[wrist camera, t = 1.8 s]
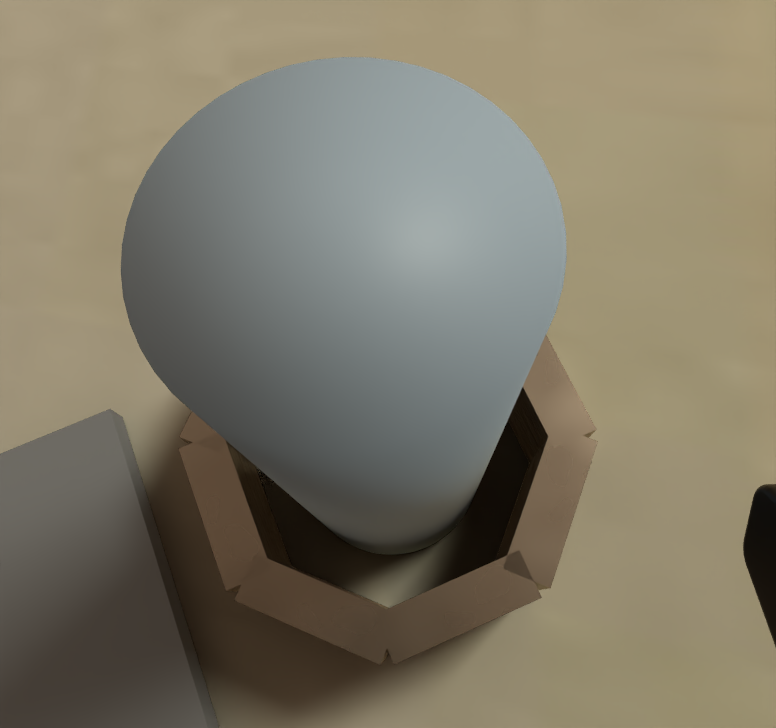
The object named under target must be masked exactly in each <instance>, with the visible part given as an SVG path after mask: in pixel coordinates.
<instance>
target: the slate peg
mask: <svg viewBox="0 0 776 728" xmlns="http://www.w3.org/2000/svg"><path fill="white" fill-rule="evenodd" d="M565 266H566V230H565V224H564V218H563V212H562V206H561V203H560V200H559V197H558V194H557V191H556V188H555V185H554V182H553V180H552V178H551V176H550V174H549V172H548V170H547V168H546V166H545V163H544V161H543V159H542V158H541V156H540V155H539V153H538V152H537V150H536V149H535V147H534V146H533V144H532V143H531V142H530V140H529V139H528V137H527V136H526V135H525V134H524V133H523V132H522V131H521V129H520V128H519V127H518V126H517V125H516V124H515V123H514V122H513V120H512V119H511V118H510V117H508V116H507V115H506V114H505V113H504V112H503V111H501V110H500V109H499V108H498V107H497V106H496V105H494V104H493V103H492V102H491V101H489V100H488V99H486V98H485V97H483V96H482V95H480V94H479V93H477V92H476V91H474V90H473V89H471V88H470V87H468V86H466V85H464V84H462V83H460V82H458V81H456V80H454V79H452V78H450V77H448V76H446V75H443V74H440V73H437V72H435V71H432V70H429V69H426V68H423V67H420V66H416V65H412V64H407V63H403V62H399V61H393V60H385V59H377V58H361V57H341V58H330V59H319V60H313V61H308V62H303V63H298V64H293V65H289V66H286V67H283V68H280V69H277V70H274V71H270V72H267V73H265V74H262V75H260V76H258V77H255V78H253V79H251V80H249V81H246V82H244V83H242V84H240V85H238V86H236V87H235V88H233V89H231V90H229V91H228V92H226V93H224V94H223V95H221V96H219V97H218V98H216V99H215V100H213V101H212V102H211V103H209V104H208V105H207V106H205V107H204V108H203V109H201V110H200V111H198V112H197V113H196V114H195V115H194V116H193V117H192V118H191V119H190V120H189V121H187V122H186V123H185V124H184V125H183V126H182V127H181V128H180V129H179V130H178V131H177V132H176V133H175V134H174V136H173V137H172V138H171V139H170V140H169V141H168V143H167V144H166V145H165V146H164V147H163V148H162V150H161V151H160V152H159V154H158V155H157V157H156V158H155V160H154V162H153V163H152V165H151V166H150V168H149V169H148V171H147V172H146V174H145V176H144V178H143V180H142V182H141V184H140V186H139V188H138V190H137V193H136V195H135V197H134V200H133V203H132V206H131V209H130V212H129V215H128V218H127V222H126V227H125V232H124V238H123V243H122V257H121V278H122V289H123V298H124V302H125V306H126V310H127V314H128V318H129V322H130V325H131V327H132V330H133V332H134V334H135V337H136V339H137V342H138V344H139V346H140V349H141V350H142V352H143V354H144V355H145V357H146V359H147V360H148V362H149V364H150V365H151V367H152V369H153V370H154V372H155V373H156V374H157V375H158V377H159V378H160V379H161V380H162V381H163V383H164V384H165V385H166V386H167V387H168V389H169V390H170V391H171V392H172V393H173V394H174V395H175V396H176V397H177V398H178V399H179V400H180V401H181V402H183V403H184V404H185V405H186V406H187V407H188V408H189V409H190V410H191V411H192V412H194V413H195V414H196V415H197V416H198V417H199V418H201V419H202V420H203V421H204V422H205V423H206V424H208V425H209V426H210V427H211V428H212V429H213V430H215V431H216V432H217V433H218V434H219V435H220V436H222V437H223V438H224V439H225V440H226V441H227V442H229V443H230V444H231V445H232V446H233V447H234V448H235V449H237V450H238V451H239V452H240V453H241V454H242V455H244V456H245V457H246V458H247V459H248V460H249V461H251V462H252V463H253V464H254V465H255V466H256V467H258V468H259V469H260V470H261V471H262V472H263V473H265V474H266V475H267V476H268V477H269V478H270V479H272V480H273V481H274V482H275V483H276V484H277V485H279V486H280V487H281V488H282V489H283V490H284V491H286V492H287V493H288V494H289V495H290V496H291V497H293V498H294V499H295V500H296V501H297V502H298V503H299V504H301V505H302V506H303V507H304V508H305V509H306V510H308V511H309V512H310V513H311V514H312V515H313V516H315V517H316V518H317V519H318V520H319V521H320V522H322V523H323V524H324V525H325V526H326V527H327V528H329V529H330V530H331V531H332V532H333V533H334V534H336V535H337V536H338V537H339V538H341V539H342V540H344V541H345V542H347V543H349V544H351V545H353V546H355V547H357V548H359V549H362V550H365V551H368V552H372V553H377V554H387V555H396V554H406V553H410V552H415V551H418V550H421V549H423V548H426V547H428V546H430V545H432V544H434V543H436V542H438V541H439V540H440V539H442V538H443V537H445V536H446V535H447V534H448V533H449V532H450V531H451V530H453V529H454V528H455V527H456V525H457V524H458V523H459V522H460V521H461V519H462V518H463V516H464V515H465V513H466V512H467V510H468V508H469V506H470V504H471V502H472V499H473V497H474V495H475V493H476V490H477V488H478V486H479V484H480V481H481V479H482V477H483V475H484V472H485V470H486V468H487V466H488V463H489V461H490V459H491V457H492V454H493V452H494V450H495V448H496V445H497V443H498V441H499V439H500V436H501V434H502V432H503V430H504V427H505V425H506V423H507V421H508V418H509V416H510V414H511V412H512V409H513V407H514V405H515V403H516V400H517V398H518V396H519V394H520V391H521V389H522V387H523V385H524V382H525V380H526V378H527V376H528V373H529V371H530V369H531V367H532V364H533V362H534V360H535V358H536V355H537V353H538V351H539V349H540V346H541V344H542V342H543V340H544V337H545V335H546V333H547V331H548V328H549V326H550V324H551V322H552V319H553V317H554V315H555V313H556V309H557V306H558V302H559V298H560V295H561V291H562V288H563V282H564V274H565Z"/></svg>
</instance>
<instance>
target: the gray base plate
mask: <svg viewBox="0 0 776 728" xmlns="http://www.w3.org/2000/svg"><path fill="white" fill-rule="evenodd" d="M0 728H219V725H218V722H217V719H216V715H215V712H214V709H213V706H212V703H211V699H210V696H209V693H208V690H207V687H206V683H205V680H204V677H203V674H202V670H201V667H200V664H199V661H198V658H197V654H196V651H195V648H194V645H193V642H192V638H191V635H190V632H189V629H188V626H187V622H186V619H185V616H184V613H183V610H182V606H181V603H180V600H179V597H178V594H177V590H176V587H175V584H174V581H173V578H172V574H171V571H170V568H169V565H168V561H167V558H166V555H165V552H164V549H163V545H162V542H161V539H160V536H159V533H158V529H157V526H156V523H155V520H154V517H153V513H152V510H151V507H150V504H149V501H148V497H147V494H146V491H145V488H144V485H143V481H142V478H141V475H140V472H139V469H138V465H137V462H136V459H135V456H134V452H133V449H132V446H131V443H130V440H129V436H128V433H127V430H126V427H125V424H124V420H123V417H122V416H120V415H119V414H117V413H116V412H114V411H112V410H111V409H109V410H106V411H104V412H101V413H99V414H97V415H94V416H92V417H89V418H87V419H84V420H82V421H79V422H77V423H75V424H72V425H70V426H67V427H65V428H62V429H60V430H57V431H55V432H52V433H50V434H48V435H45V436H43V437H40V438H38V439H35V440H33V441H30V442H28V443H25V444H23V445H21V446H18V447H16V448H13V449H11V450H8V451H6V452H3V453H1V454H0Z"/></svg>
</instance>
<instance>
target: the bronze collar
mask: <svg viewBox="0 0 776 728" xmlns="http://www.w3.org/2000/svg"><path fill="white" fill-rule="evenodd" d="M508 421H509V423H510V425H511V428H512V430H513V432H514V434H515V436H516V438H517V440H518V442H519V444H520V446H521V448H522V450H523V452H524V454H525V456H526V458H527V460H528V462H529V465H528V468H527V471H526V474H525V477H524V479H523V482H522V485H521V488H520V491H519V494H518V497H517V499H516V502H515V505H514V508H513V511H512V514H511V517H510V520H509V522H508V525H507V528H506V531H505V534H504V537H503V540H502V542H501V545H500V548H499V551H498V554H497V557H496V560H495V561H494V562H491V563H489V564H487V565H485V566H482V567H480V568H478V569H476V570H473V571H471V572H469V573H467V574H464V575H462V576H460V577H458V578H456V579H453V580H451V581H449V582H447V583H444V584H442V585H440V586H438V587H435V588H433V589H431V590H429V591H426V592H424V593H422V594H420V595H417V596H415V597H413V598H411V599H409V600H406V601H404V602H402V603H400V604H397V605H395V606H393V607H391V608H388V607H385V606H383V605H381V604H378V603H376V602H374V601H371V600H369V599H367V598H364V597H362V596H360V595H357V594H355V593H353V592H350V591H348V590H346V589H343V588H341V587H338V586H336V585H334V584H331V583H329V582H327V581H324V580H322V579H320V578H317V577H315V576H313V575H310V574H308V573H306V572H303V571H301V570H299V569H296V568H294V567H292V565H291V562H290V560H289V557H288V554H287V551H286V549H285V546H284V543H283V540H282V538H281V535H280V532H279V530H278V527H277V524H276V521H275V519H274V516H273V513H272V510H271V508H270V505H269V502H268V500H267V497H266V494H265V491H264V489H263V486H262V483H261V480H260V478H259V475H258V472H257V470H256V466H255V465H254V464H253V463H252V462H251V461H249V460H248V459H247V458H246V457H245V456H244V455H242V454H241V453H240V452H239V451H238V450H237V449H235V448H234V447H233V446H232V445H231V444H230V443H229V442H227V441H226V440H225V439H224V438H223V437H222V436H220V435H219V434H218V433H217V432H216V431H215V430H213V429H212V428H211V427H210V426H209V425H208V424H206V423H205V422H204V421H203V420H202V419H201V418H199V417H198V416H197V415H196V414H195V413H194V412H191V414H190V416H189V418H188V420H187V422H186V424H185V426H184V428H183V430H182V432H181V434H180V436H179V437H180V438H181V439H183V440H184V441H186V442H187V443H189V444H188V445H186V446H183V447H181V448H179V452H180V455H181V458H182V461H183V464H184V467H185V470H186V473H187V476H188V479H189V482H190V485H191V488H192V491H193V494H194V497H195V500H196V503H197V506H198V509H199V512H200V515H201V518H202V521H203V524H204V527H205V530H206V533H207V536H208V539H209V542H210V545H211V548H212V551H213V554H214V557H215V560H216V563H217V566H218V569H219V572H220V575H221V578H222V581H223V584H224V587H225V590H226V591H232V592H238V593H237V595H236V597H235V600H234V601H236V602H239V603H241V604H243V605H245V606H248V607H250V608H252V609H254V610H257V611H259V612H261V613H263V614H266V615H268V616H270V617H273V618H275V619H277V620H279V621H282V622H284V623H286V624H288V625H291V626H293V627H295V628H297V629H300V630H302V631H304V632H306V633H309V634H311V635H313V636H316V637H318V638H320V639H322V640H325V641H327V642H329V643H331V644H334V645H336V646H338V647H340V648H343V649H345V650H347V651H350V652H352V653H354V654H356V655H359V656H361V657H363V658H365V659H368V660H370V661H372V662H374V663H377V664H379V665H381V664H382V662H383V661H384V660H385V659H386V657H387V656H388V653H389V654H390V657H391V659H392V662H393V664H397V663H399V662H401V661H403V660H405V659H408V658H410V657H412V656H414V655H416V654H419V653H421V652H423V651H425V650H427V649H430V648H432V647H434V646H436V645H438V644H441V643H443V642H445V641H447V640H449V639H452V638H454V637H456V636H458V635H460V634H463V633H465V632H467V631H469V630H471V629H474V628H476V627H478V626H480V625H482V624H485V623H487V622H489V621H491V620H493V619H496V618H498V617H500V616H502V615H504V614H507V613H509V612H511V611H513V610H515V609H518V608H520V607H522V606H524V605H526V604H529V603H531V602H533V601H535V600H537V599H540V598H542V597H541V595H540V593H539V591H538V590H542V589H548V588H551V585H552V582H553V579H554V576H555V573H556V570H557V566H558V563H559V560H560V557H561V554H562V551H563V548H564V545H565V542H566V539H567V536H568V532H569V529H570V526H571V523H572V520H573V517H574V514H575V511H576V508H577V505H578V502H579V498H580V495H581V492H582V489H583V486H584V483H585V480H586V477H587V474H588V471H589V468H590V464H591V461H592V458H593V455H594V452H595V449H596V446H597V443H598V441H596V440H593V439H590V438H589V437H590V436H591V435H592V434H593V433H594V431H595V430H596V427H595V426H594V424H593V422H592V420H591V418H590V416H589V414H588V412H587V411H586V409H585V407H584V405H583V403H582V401H581V399H580V397H579V396H578V394H577V392H576V390H575V388H574V386H573V384H572V382H571V381H570V379H569V377H568V375H567V373H566V371H565V369H564V367H563V366H562V364H561V362H560V360H559V358H558V356H557V354H556V352H555V351H554V349H553V347H552V345H551V343H550V341H549V339H548V337H547V336H546V335H545V337H544V340H543V342H542V344H541V346H540V349H539V351H538V353H537V355H536V358H535V360H534V362H533V364H532V367H531V369H530V371H529V373H528V376H527V378H526V380H525V382H524V385H523V387H522V389H521V391H520V394H519V396H518V398H517V400H516V403H515V405H514V407H513V409H512V412H511V414H510V416H509V418H508Z"/></svg>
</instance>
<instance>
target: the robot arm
mask: <svg viewBox="0 0 776 728" xmlns="http://www.w3.org/2000/svg"><path fill="white" fill-rule="evenodd" d="M743 551H744V558H745V562H746V566H747V568H748V571H749V574H750V577H751V580H752V582H753V585H754V588H755V591H756V593H757V596H758V599H759V602H760V605H761V607H762V610H763V613H764V616H765V619H766V621H767V624H768V627H769V630H770V633H771V635H772V638H773V641H774V644H775V647H776V484H766V485H762V486H760V487H759V488H758V489H757V490H756V492H755V494H754V497H753V501H752V506H751V510H750V515H749V519H748V524H747V528H746V533H745V537H744V543H743Z"/></svg>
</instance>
